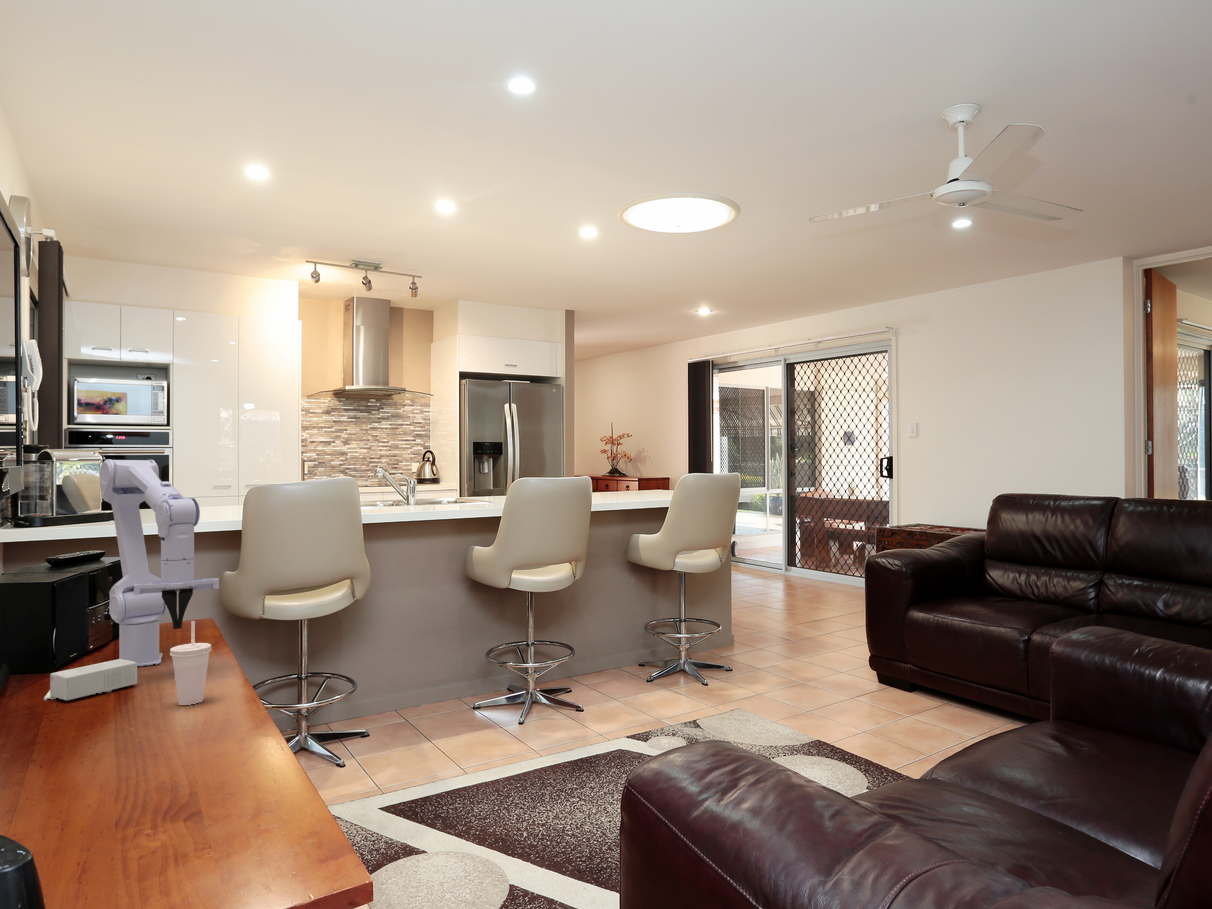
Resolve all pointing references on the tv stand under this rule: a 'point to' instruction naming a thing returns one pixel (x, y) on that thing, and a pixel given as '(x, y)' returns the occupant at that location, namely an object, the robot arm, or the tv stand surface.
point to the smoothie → (190, 669)
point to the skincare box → (93, 679)
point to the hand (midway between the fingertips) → (177, 628)
